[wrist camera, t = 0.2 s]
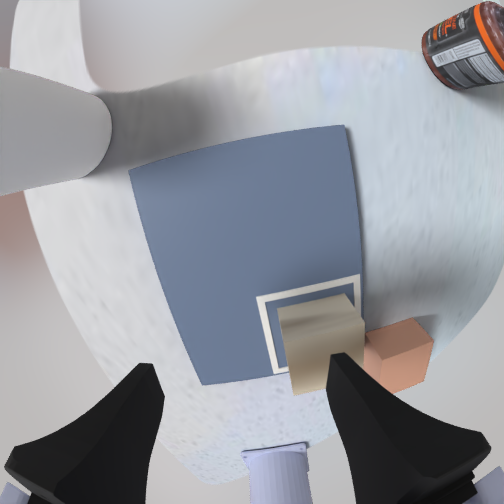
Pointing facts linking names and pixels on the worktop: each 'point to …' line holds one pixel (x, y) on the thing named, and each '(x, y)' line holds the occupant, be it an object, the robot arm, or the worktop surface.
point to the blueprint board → (251, 242)
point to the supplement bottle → (468, 47)
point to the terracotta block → (397, 355)
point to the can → (48, 131)
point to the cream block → (319, 339)
